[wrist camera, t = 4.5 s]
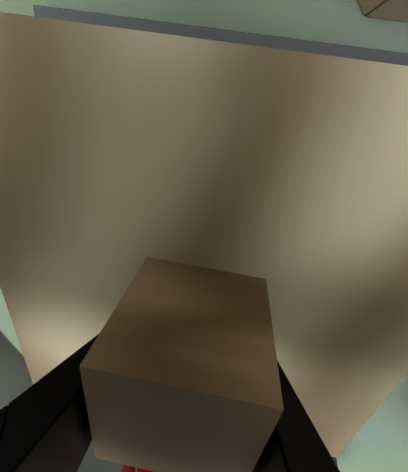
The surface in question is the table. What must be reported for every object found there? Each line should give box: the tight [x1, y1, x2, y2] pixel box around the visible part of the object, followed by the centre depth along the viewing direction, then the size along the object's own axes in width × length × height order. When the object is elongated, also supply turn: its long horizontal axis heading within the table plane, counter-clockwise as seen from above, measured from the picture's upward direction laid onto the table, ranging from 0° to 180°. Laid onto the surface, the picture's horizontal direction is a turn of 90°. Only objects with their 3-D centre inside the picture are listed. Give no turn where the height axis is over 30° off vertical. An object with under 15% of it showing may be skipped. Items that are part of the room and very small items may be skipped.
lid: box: [0, 12, 408, 472], centre depth 8 cm, size 16×16×5 cm
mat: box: [33, 5, 408, 66], centre depth 15 cm, size 19×19×1 cm
